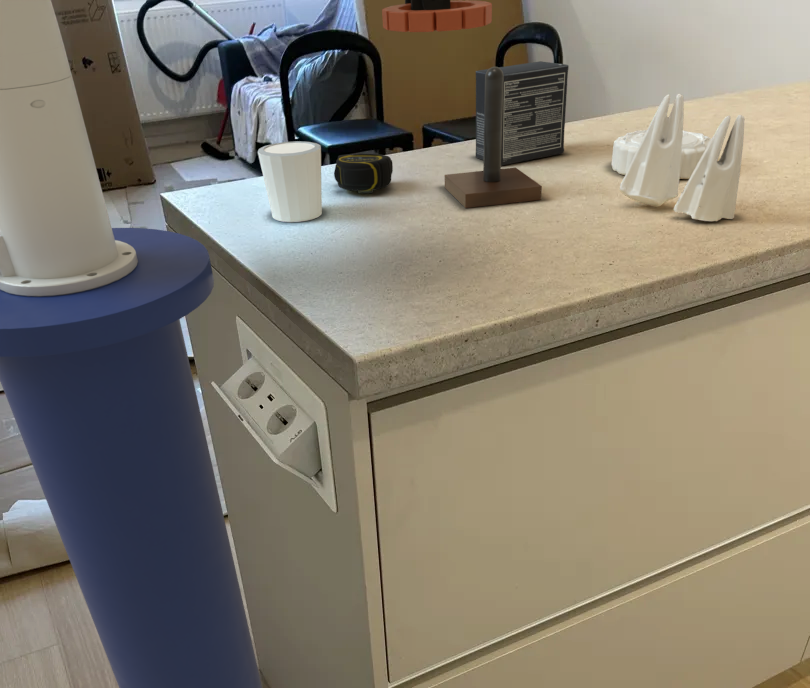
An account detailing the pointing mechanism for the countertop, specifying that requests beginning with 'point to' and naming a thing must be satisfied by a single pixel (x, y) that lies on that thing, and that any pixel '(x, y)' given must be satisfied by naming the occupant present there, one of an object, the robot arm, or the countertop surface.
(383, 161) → the tape measure
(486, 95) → the stand
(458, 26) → the ring
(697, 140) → the mooncake
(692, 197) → the shaker set
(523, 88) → the small box
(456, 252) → the countertop surface
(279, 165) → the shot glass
